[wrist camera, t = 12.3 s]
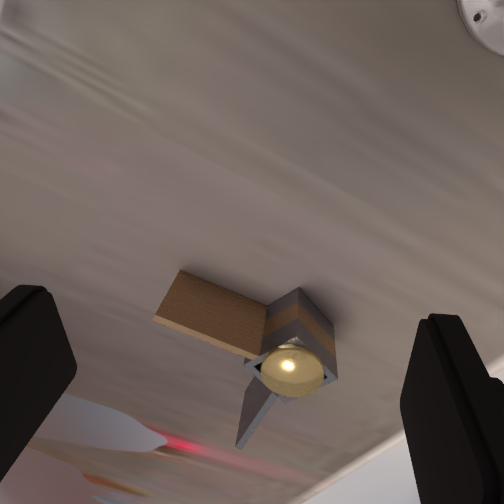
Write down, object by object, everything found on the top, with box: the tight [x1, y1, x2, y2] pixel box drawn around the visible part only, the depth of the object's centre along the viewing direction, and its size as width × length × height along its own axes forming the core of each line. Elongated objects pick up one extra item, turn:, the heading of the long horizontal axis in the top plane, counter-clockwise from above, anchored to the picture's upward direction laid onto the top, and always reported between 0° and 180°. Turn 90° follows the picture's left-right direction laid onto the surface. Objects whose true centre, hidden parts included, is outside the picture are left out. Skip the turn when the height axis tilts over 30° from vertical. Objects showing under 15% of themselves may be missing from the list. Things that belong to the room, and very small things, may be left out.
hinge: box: [153, 271, 338, 449], centre depth 42 cm, size 16×20×8 cm
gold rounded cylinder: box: [261, 344, 324, 397], centre depth 40 cm, size 6×6×8 cm
